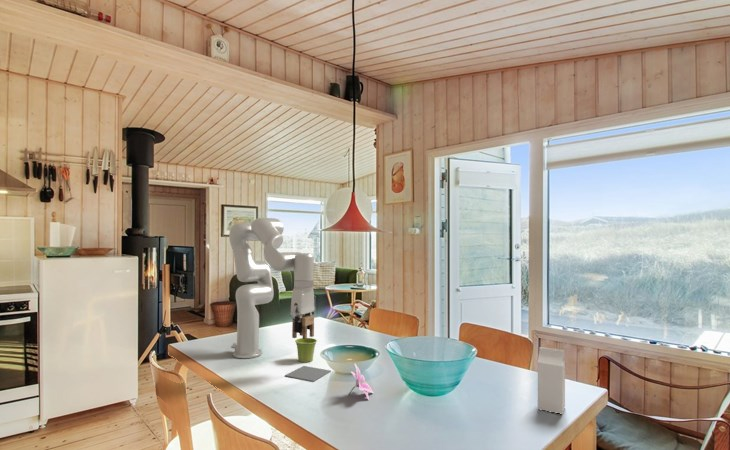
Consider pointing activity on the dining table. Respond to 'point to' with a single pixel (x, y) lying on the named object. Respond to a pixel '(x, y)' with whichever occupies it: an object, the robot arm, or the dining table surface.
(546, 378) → the milk carton
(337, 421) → the dining table surface
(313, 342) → the plant pot
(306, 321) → the stool
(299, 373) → the mat
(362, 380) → the lily
